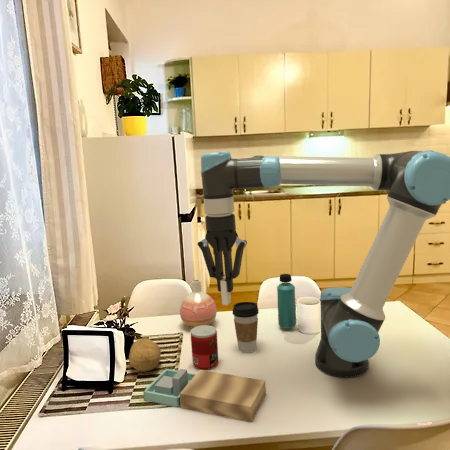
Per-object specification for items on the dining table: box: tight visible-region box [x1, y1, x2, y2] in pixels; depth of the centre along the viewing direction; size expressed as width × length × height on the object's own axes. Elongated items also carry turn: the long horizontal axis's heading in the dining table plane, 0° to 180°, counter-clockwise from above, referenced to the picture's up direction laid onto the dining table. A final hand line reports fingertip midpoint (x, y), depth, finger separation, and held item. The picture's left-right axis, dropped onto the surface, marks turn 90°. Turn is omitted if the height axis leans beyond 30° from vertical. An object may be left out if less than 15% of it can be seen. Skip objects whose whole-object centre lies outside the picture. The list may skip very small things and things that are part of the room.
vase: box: [179, 278, 218, 329], centre depth 153 cm, size 14×14×18 cm
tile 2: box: [172, 368, 189, 396], centre depth 112 cm, size 5×5×2 cm
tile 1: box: [154, 376, 173, 395], centre depth 113 cm, size 5×5×2 cm
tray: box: [142, 368, 197, 408], centre depth 113 cm, size 10×12×2 cm
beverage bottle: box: [276, 273, 297, 329], centre depth 147 cm, size 6×7×20 cm
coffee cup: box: [232, 301, 260, 353], centre depth 134 cm, size 8×8×15 cm
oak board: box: [180, 369, 267, 423], centre depth 107 cm, size 19×12×4 cm, turn 68°
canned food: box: [190, 324, 219, 371], centre depth 126 cm, size 8×8×11 cm
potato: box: [128, 337, 162, 373], centre depth 126 cm, size 10×14×8 cm
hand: (226, 303), depth 108 cm, fingers closed
